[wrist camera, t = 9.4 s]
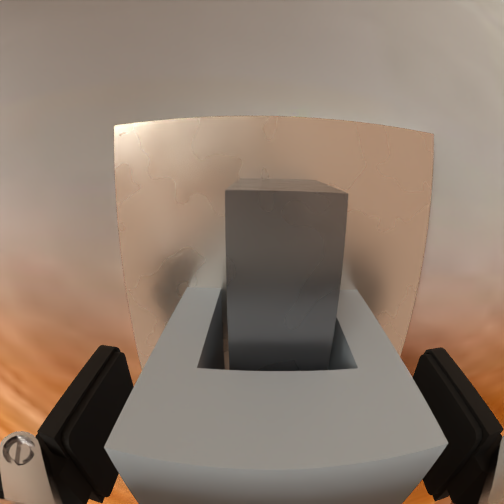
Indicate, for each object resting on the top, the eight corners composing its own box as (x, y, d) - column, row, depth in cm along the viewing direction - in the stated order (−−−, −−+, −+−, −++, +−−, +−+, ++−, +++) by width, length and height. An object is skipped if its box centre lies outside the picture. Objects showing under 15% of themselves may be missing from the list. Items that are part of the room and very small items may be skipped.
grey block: (187, 287, 11) (103, 447, 4) (357, 289, 10) (448, 442, 4) (198, 390, 12) (162, 534, 5) (337, 391, 12) (372, 533, 5)
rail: (126, 127, 10) (-59, 111, 2) (420, 135, 10) (600, 135, 2) (192, 504, 18) (177, 582, 10) (328, 506, 17) (338, 584, 10)
